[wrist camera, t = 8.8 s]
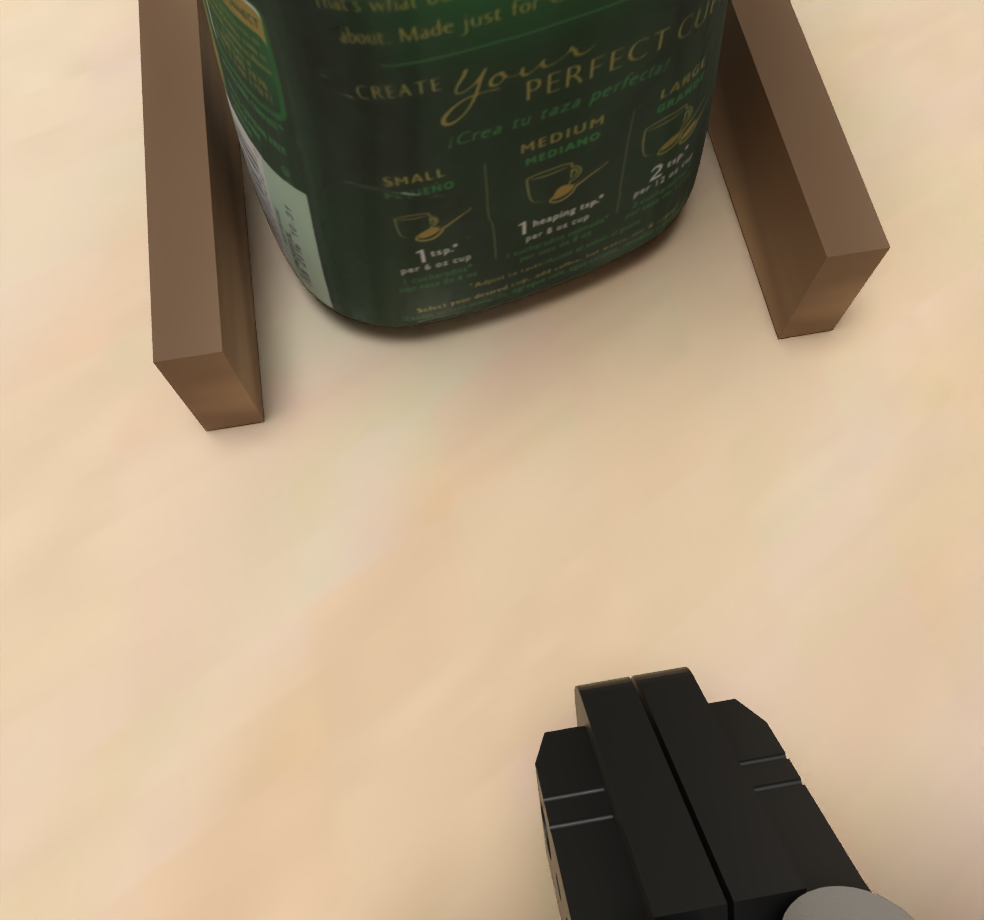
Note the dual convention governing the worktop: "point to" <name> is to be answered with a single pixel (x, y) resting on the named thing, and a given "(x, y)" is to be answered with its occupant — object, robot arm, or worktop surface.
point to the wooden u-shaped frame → (732, 126)
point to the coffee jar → (464, 139)
